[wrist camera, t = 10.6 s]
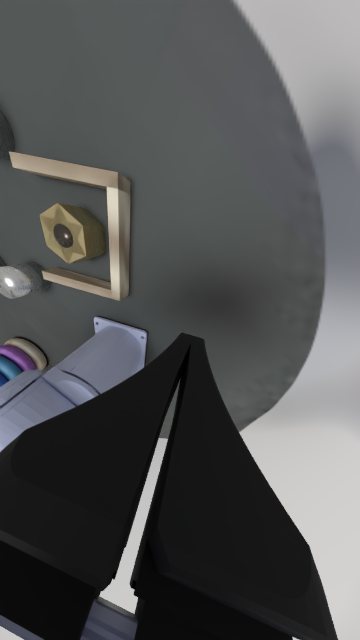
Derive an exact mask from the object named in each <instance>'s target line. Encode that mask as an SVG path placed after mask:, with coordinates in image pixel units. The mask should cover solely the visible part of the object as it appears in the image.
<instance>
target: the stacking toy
mask: <svg viewBox="0 0 360 640" xmlns="http://www.w3.org/2000/svg"><path fill="white" fill-rule="evenodd" d="M46 364H47V361H46V358H45V356H44V354H43V353H42V352H41V351H40V350H39V349H38V348H37V347H36V346H35V345H34V344H32V343H31V342H29V341H27V340H24V339H19V338H14V339H10V340H8V341H7V342H6V343H5V344H4V345H2V346H0V387H1V386H3V385H4V384H6V383H7V382H9V381H10V380H12V379H13V378H15V377H16V376H18V375H19V374H21V373H22V372H24V371H26V370H36V369H39V370H40V371H42V370H43V369H44V368H45V367H46Z"/></svg>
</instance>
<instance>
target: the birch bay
mask: <svg viewBox="0 0 360 640" xmlns="http://www.w3.org/2000/svg"><path fill="white" fill-rule="evenodd" d="M9 154H10V158H11V162H12V165H13V168H17V169H20V170H23V171H26V172H29V173H32V174H35V175H39V176H44V177H48V178H53V179H58V180H63V181H68V182H72V183H77V184H82V185H87V186H92V187H96V188H101V189H106V190H107V204H108V226H109V248H110V269H111V282H107V281H104V280H100V279H96V278H93V277H89V276H85V275H82V274H78V273H75V272H71V271H67V270H64V269H60V268H53V269H48V270H43V271H42V274H43V277H44V279H45V280H49V281H52V282H56V283H59V284H63V285H66V286H70V287H73V288H77V289H80V290H84V291H87V292H91V293H94V294H98V295H101V296H105V297H108V298H111V299H115V300H118V301H120V300H122V299H123V298H125V297H127V296H128V295H129V252H130V191H131V180H129V179H128V178H126V177H124V176H123V175H121V174H119V173H118V172H113V171H108V170H102V169H97V168H92V167H87V166H82V165H77V164H71V163H66V162H61V161H56V160H51V159H46V158H41V157H35V156H30V155H25V154H20V153H15V152H10V151H9Z"/></svg>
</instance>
